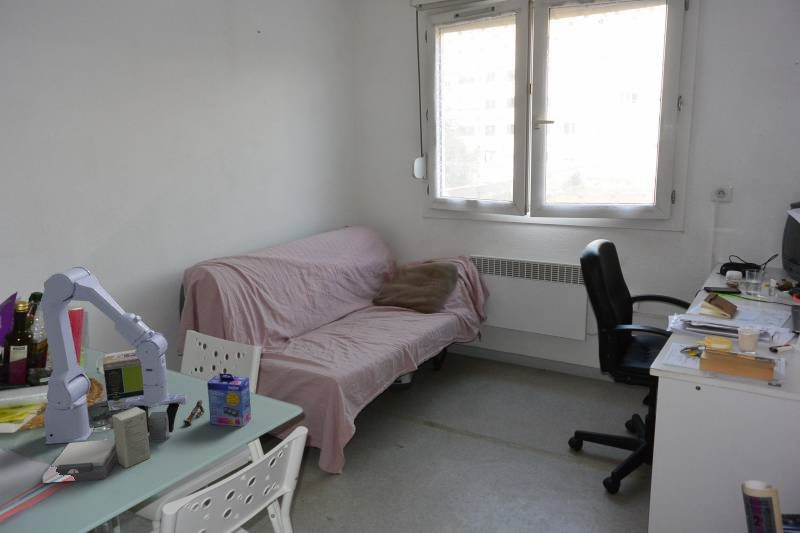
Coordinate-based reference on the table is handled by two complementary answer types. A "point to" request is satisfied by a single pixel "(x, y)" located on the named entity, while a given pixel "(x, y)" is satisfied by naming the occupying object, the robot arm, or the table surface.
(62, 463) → the dial scale
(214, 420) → the ink cartridge box
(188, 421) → the wooden post with brackets
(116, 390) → the tea box
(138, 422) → the skincare box
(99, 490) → the table surface
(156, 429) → the block
